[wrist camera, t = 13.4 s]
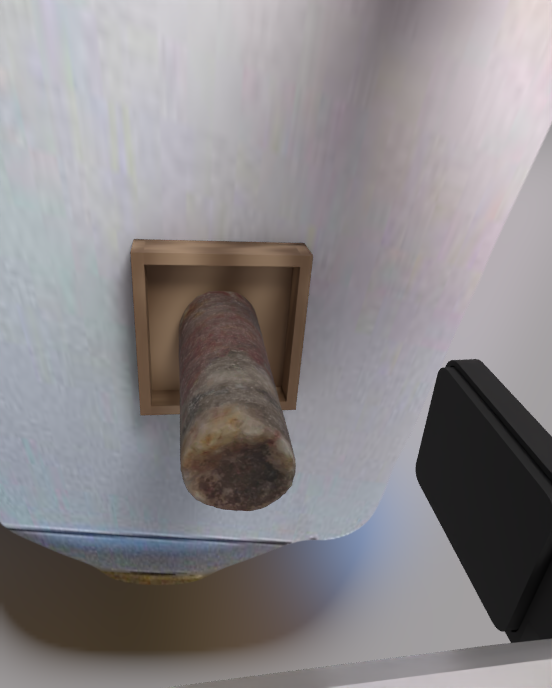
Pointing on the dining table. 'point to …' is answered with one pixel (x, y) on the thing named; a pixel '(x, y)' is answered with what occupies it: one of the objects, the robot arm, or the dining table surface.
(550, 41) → the dining table surface
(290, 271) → the wooden tray
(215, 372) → the candle
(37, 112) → the dining table surface
